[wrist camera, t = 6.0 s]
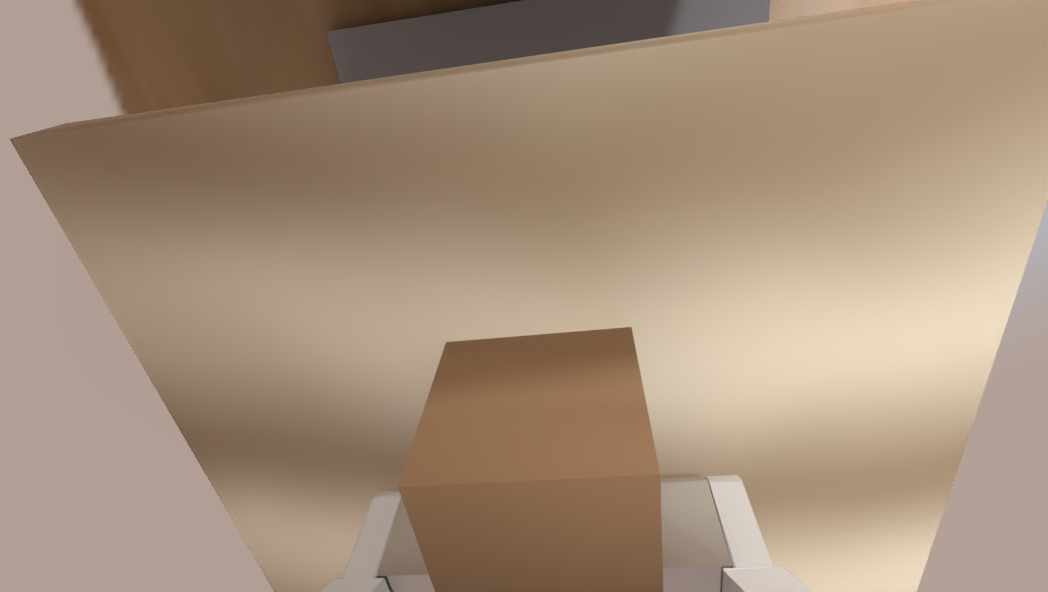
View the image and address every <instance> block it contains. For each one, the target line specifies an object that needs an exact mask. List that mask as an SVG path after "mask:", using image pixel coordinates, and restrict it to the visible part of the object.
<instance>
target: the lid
mask: <svg viewBox="0 0 1048 592" xmlns="http://www.w3.org/2000/svg"><path fill="white" fill-rule="evenodd" d="M10 140H11V142H12V144H13V146H14V147H15V149H16V151H17V152H18V154H19V156H20V158H21V159H22V161H23V163H24V164H25V166H26V168H27V170H28V171H29V173H30V175H31V176H32V178H33V180H34V181H35V183H36V185H37V187H38V188H39V190H40V191H41V193H42V195H43V197H44V198H45V200H46V202H47V204H48V205H49V207H50V209H51V211H52V212H53V214H54V216H55V217H56V219H57V221H58V222H59V224H60V226H61V227H62V229H63V231H64V233H65V234H66V236H67V238H68V240H69V241H70V243H71V245H72V246H73V248H74V250H75V251H76V253H77V255H78V257H79V258H80V260H81V262H82V264H83V265H84V267H85V269H86V270H87V272H88V274H89V276H90V277H91V279H92V281H93V282H94V284H95V286H96V287H97V289H98V291H99V293H100V294H101V296H102V298H103V299H104V301H105V303H106V305H107V306H108V308H109V310H110V311H111V313H112V315H113V316H114V318H115V320H116V322H117V323H118V325H119V327H120V329H121V330H122V332H123V334H124V335H125V337H126V339H127V340H128V342H129V344H130V346H131V347H132V349H133V351H134V352H135V354H136V356H137V358H138V359H139V361H140V362H141V364H142V366H143V368H144V369H145V371H146V373H147V375H148V376H149V378H150V380H151V382H152V383H153V385H154V387H155V388H156V390H157V391H158V393H159V395H160V396H161V398H162V400H163V402H164V404H165V405H166V407H167V409H168V411H169V412H170V414H171V416H172V417H173V419H174V421H175V423H176V424H177V426H178V427H179V429H180V431H181V433H182V434H183V436H184V438H185V440H186V441H187V443H188V445H189V446H190V448H191V450H192V451H193V453H194V455H195V457H196V458H197V460H198V462H199V463H200V465H201V467H202V469H203V470H204V472H205V474H206V476H207V477H208V479H209V481H210V482H211V484H212V486H213V487H214V489H215V491H216V493H217V494H218V496H219V498H220V499H221V501H222V503H223V504H224V506H225V508H226V510H227V511H228V513H229V515H230V517H231V518H232V520H233V521H234V523H235V525H236V527H237V529H238V530H239V532H240V534H241V535H242V537H243V539H244V540H245V542H246V544H247V546H248V547H249V549H250V551H251V552H252V554H253V556H254V557H255V559H256V561H257V563H258V564H259V566H260V568H261V570H262V571H263V573H264V575H265V576H266V578H267V580H268V581H269V583H270V585H271V587H272V588H273V590H274V592H321V591H322V590H323V589H324V588H325V587H326V586H327V585H328V584H329V583H330V582H331V581H332V580H333V579H342V578H343V576H344V573H345V570H346V568H347V565H348V562H349V560H350V557H351V554H352V552H353V549H354V546H355V544H356V541H357V538H358V536H359V533H360V531H361V528H362V525H363V523H364V520H365V517H366V515H367V512H368V509H369V507H370V504H371V501H372V499H373V498H374V497H375V496H376V494H377V493H378V492H379V491H399V492H400V495H401V498H402V500H403V503H404V506H405V509H406V512H407V514H408V517H409V520H410V523H411V526H412V529H413V531H414V534H415V537H416V540H417V543H418V545H419V548H420V551H421V554H422V557H423V560H424V562H425V565H426V568H427V571H428V574H429V576H430V579H431V582H432V585H433V588H434V591H435V592H663V556H662V520H661V483H660V479H663V478H680V477H697V476H704V477H706V476H723V475H738V476H739V477H740V478H741V479H742V482H743V484H744V487H745V490H746V493H747V495H748V498H749V501H750V504H751V506H752V509H753V512H754V515H755V517H756V520H757V523H758V526H759V528H760V531H761V534H762V537H763V539H764V542H765V545H766V548H767V550H768V553H769V556H770V559H771V561H772V564H773V567H785V568H786V569H787V570H788V571H789V572H790V573H791V574H793V575H794V576H795V577H796V578H797V579H798V580H799V581H800V582H802V583H803V584H804V585H805V586H806V587H807V588H808V589H809V590H811V591H812V592H916V591H917V589H918V586H919V583H920V580H921V577H922V574H923V571H924V568H925V565H926V562H927V559H928V556H929V553H930V550H931V547H932V544H933V541H934V538H935V535H936V532H937V529H938V526H939V523H940V520H941V517H942V514H943V511H944V508H945V505H946V502H947V499H948V496H949V493H950V490H951V487H952V484H953V481H954V478H955V475H956V472H957V469H958V466H959V464H960V461H961V458H962V455H963V451H964V449H965V445H966V443H967V440H968V437H969V434H970V431H971V428H972V425H973V422H974V419H975V416H976V413H977V410H978V407H979V404H980V401H981V398H982V395H983V392H984V389H985V386H986V383H987V380H988V377H989V374H990V371H991V368H992V365H993V362H994V359H995V356H996V353H997V350H998V347H999V344H1000V341H1001V338H1002V335H1003V332H1004V329H1005V326H1006V323H1007V320H1008V317H1009V314H1010V311H1011V308H1012V305H1013V302H1014V299H1015V296H1016V294H1017V291H1018V287H1019V285H1020V282H1021V279H1022V276H1023V272H1024V270H1025V266H1026V264H1027V261H1028V258H1029V255H1030V252H1031V249H1032V246H1033V243H1034V240H1035V237H1036V234H1037V231H1038V228H1039V225H1040V222H1041V219H1042V216H1043V213H1044V210H1045V207H1046V204H1047V201H1048V0H915V1H909V2H902V3H895V4H888V5H881V6H874V7H867V8H860V9H853V10H846V11H839V12H833V13H826V14H819V15H812V16H805V17H798V18H791V19H784V20H777V21H770V22H763V23H757V24H750V25H743V26H736V27H729V28H722V29H715V30H708V31H701V32H694V33H687V34H681V35H674V36H667V37H660V38H653V39H646V40H639V41H632V42H625V43H618V44H611V45H605V46H598V47H591V48H584V49H577V50H570V51H563V52H556V53H549V54H542V55H535V56H529V57H522V58H515V59H508V60H501V61H494V62H487V63H480V64H473V65H466V66H459V67H453V68H446V69H439V70H432V71H425V72H418V73H411V74H404V75H397V76H390V77H383V78H377V79H370V80H363V81H356V82H349V83H342V84H335V85H328V86H321V87H314V88H307V89H300V90H294V91H287V92H280V93H273V94H266V95H259V96H252V97H245V98H238V99H231V100H224V101H218V102H211V103H204V104H197V105H190V106H183V107H176V108H169V109H162V110H155V111H148V112H142V113H135V114H128V115H121V116H114V117H107V118H100V119H93V120H86V121H79V122H73V123H66V124H62V125H58V126H55V127H51V128H47V129H44V130H40V131H37V132H33V133H29V134H26V135H23V136H19V137H15V138H12V139H10Z"/></svg>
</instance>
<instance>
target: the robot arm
mask: <svg viewBox="0 0 1048 592" xmlns="http://www.w3.org/2000/svg"><path fill="white" fill-rule="evenodd" d="M660 483H661V520H662V556H663V592H812V591H811V590H809V589H808V588H807V587H806V586H805V585H804V584H803V583H802V582H800V581H799V580H798V579H797V578H796V577H795V576H794V575H793V574H791V573H790V572H789V571H788V570H787V569H786V568H785V567H773V564H772V561H771V559H770V556H769V553H768V550H767V548H766V545H765V542H764V539H763V537H762V534H761V531H760V528H759V526H758V523H757V520H756V517H755V515H754V512H753V509H752V506H751V504H750V501H749V498H748V495H747V493H746V490H745V487H744V484H743V482H742V479H741V478H740V477H739V476H738V475H723V476H706V477H704V476H697V477H680V478H663V479H660ZM321 592H435V591H434V588H433V585H432V582H431V579H430V576H429V574H428V571H427V568H426V565H425V562H424V560H423V557H422V554H421V551H420V548H419V545H418V543H417V540H416V537H415V534H414V531H413V529H412V526H411V523H410V520H409V517H408V514H407V512H406V509H405V506H404V503H403V500H402V498H401V495H400V492H399V491H379V492H378V493H377V494H376V496H375V497H374V498H373V499H372V501H371V504H370V507H369V509H368V512H367V515H366V517H365V520H364V523H363V525H362V528H361V531H360V533H359V536H358V538H357V541H356V544H355V546H354V549H353V552H352V554H351V557H350V560H349V562H348V565H347V568H346V570H345V573H344V576H343V578H342V579H333V580H332V581H331V582H330V583H329V584H328V585H327V586H326V587H325V588H324V589H323V590H322V591H321Z"/></svg>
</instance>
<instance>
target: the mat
mask: <svg viewBox="0 0 1048 592" xmlns="http://www.w3.org/2000/svg"><path fill="white" fill-rule="evenodd" d="M769 4H770V0H522V1H516V2H510V3H503V4H497V5H491V6H485V7H478V8H472V9H466V10H459V11H453V12H447V13H440V14H434V15H428V16H421V17H415V18H409V19H402V20H396V21H390V22H383V23H377V24H371V25H365V26H358V27H352V28H346V29H339V30H333V31H327V32H326V34H327V38H328V41H329V45H330V49H331V52H332V56H333V59H334V63H335V67H336V70H337V74H338V77H339V81H340V84H342V83H349V82H356V81H363V80H370V79H377V78H383V77H390V76H397V75H404V74H411V73H418V72H425V71H432V70H439V69H446V68H453V67H459V66H466V65H473V64H480V63H487V62H494V61H501V60H508V59H515V58H522V57H529V56H535V55H542V54H549V53H556V52H563V51H570V50H577V49H584V48H591V47H598V46H605V45H611V44H618V43H625V42H632V41H639V40H646V39H653V38H660V37H667V36H674V35H681V34H687V33H694V32H701V31H708V30H715V29H722V28H729V27H736V26H743V25H750V24H757V23H763V22H768V20H769Z"/></svg>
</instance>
